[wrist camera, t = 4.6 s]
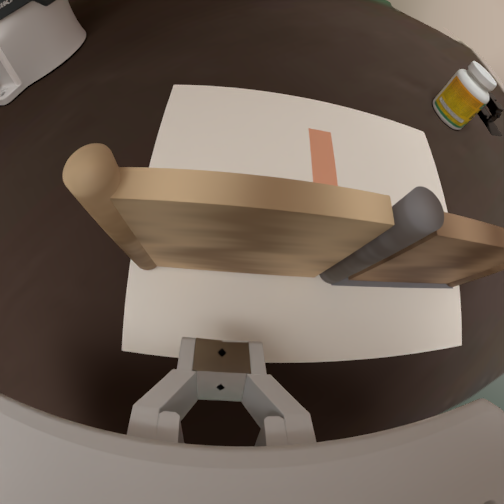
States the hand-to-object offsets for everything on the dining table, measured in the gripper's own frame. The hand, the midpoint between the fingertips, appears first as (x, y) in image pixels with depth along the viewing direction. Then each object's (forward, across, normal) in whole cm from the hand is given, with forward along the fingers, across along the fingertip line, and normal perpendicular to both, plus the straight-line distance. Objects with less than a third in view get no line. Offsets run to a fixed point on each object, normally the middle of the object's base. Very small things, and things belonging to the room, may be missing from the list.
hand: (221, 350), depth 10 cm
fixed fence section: (+8, -13, +1) cm, 15 cm away
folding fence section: (+8, 0, +1) cm, 8 cm away
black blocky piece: (+29, -40, -19) cm, 53 cm away
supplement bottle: (+24, -27, -14) cm, 39 cm away
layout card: (+12, -7, -2) cm, 14 cm away
